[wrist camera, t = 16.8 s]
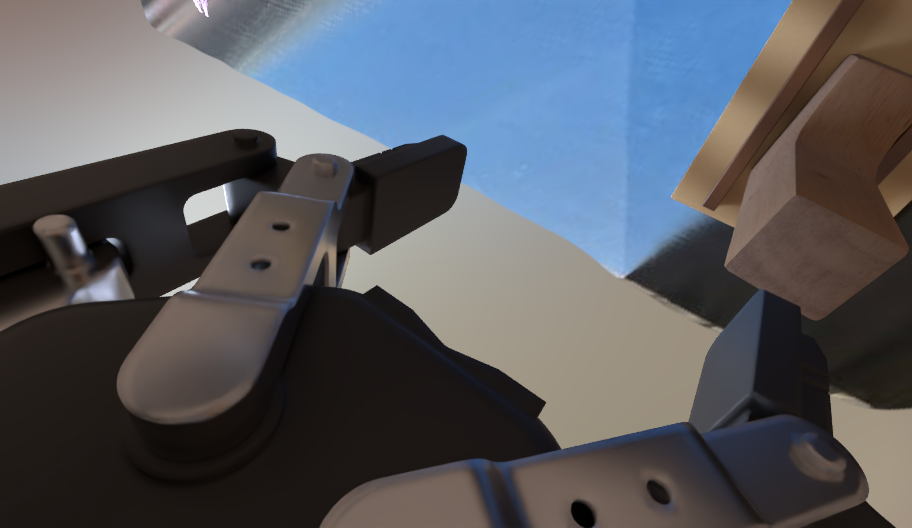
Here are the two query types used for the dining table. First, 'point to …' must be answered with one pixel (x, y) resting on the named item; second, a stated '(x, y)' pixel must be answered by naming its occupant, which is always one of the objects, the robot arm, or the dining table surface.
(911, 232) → the dining table surface
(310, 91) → the dining table surface
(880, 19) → the guide
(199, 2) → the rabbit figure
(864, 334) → the dining table surface
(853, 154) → the wooden block
